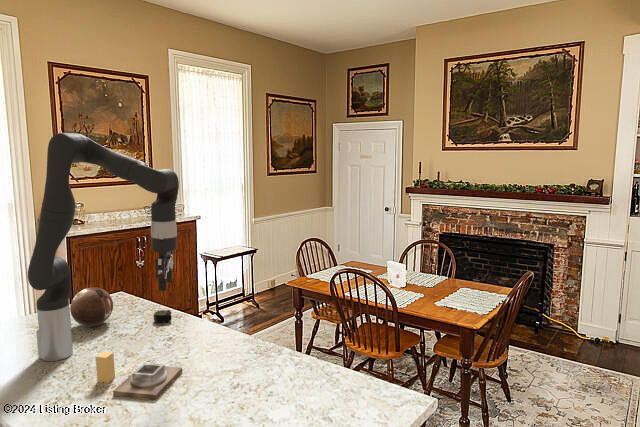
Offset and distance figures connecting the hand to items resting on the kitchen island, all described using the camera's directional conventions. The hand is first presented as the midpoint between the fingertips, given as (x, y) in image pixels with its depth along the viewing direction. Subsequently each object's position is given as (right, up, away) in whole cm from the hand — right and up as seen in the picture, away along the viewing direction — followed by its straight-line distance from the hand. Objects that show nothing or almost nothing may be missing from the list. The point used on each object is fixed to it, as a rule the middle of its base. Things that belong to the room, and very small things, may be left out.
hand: (165, 286), depth 142 cm
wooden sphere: (-41, -22, +38) cm, 60 cm away
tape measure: (-15, -21, +43) cm, 50 cm away
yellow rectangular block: (-17, -28, -4) cm, 32 cm away
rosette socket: (-3, -28, -6) cm, 29 cm away
